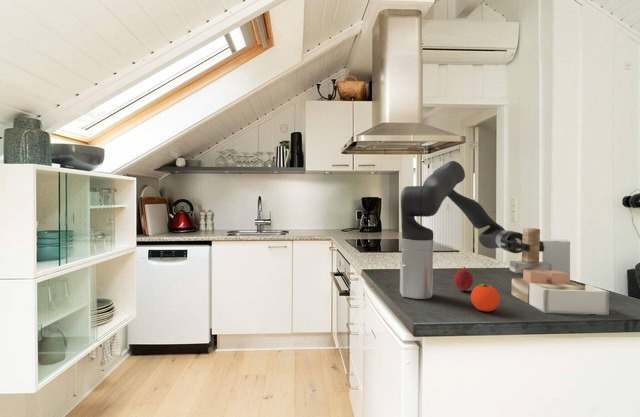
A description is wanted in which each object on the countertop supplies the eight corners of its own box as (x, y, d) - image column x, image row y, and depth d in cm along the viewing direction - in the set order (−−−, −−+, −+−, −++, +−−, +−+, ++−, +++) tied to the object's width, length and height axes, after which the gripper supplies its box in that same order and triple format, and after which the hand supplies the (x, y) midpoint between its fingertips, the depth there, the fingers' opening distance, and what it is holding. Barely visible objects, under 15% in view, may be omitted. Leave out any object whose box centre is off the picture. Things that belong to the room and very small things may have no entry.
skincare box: (569, 283, 126) (570, 239, 126) (570, 286, 121) (571, 241, 120) (541, 280, 131) (542, 238, 130) (541, 283, 125) (542, 239, 125)
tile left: (530, 282, 104) (530, 272, 104) (523, 279, 108) (523, 269, 108) (546, 283, 103) (546, 273, 103) (538, 279, 108) (538, 270, 108)
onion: (474, 294, 109) (475, 268, 109) (455, 292, 111) (455, 267, 110) (470, 289, 115) (471, 265, 115) (452, 288, 116) (452, 264, 116)
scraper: (515, 272, 113) (516, 229, 112) (509, 270, 117) (510, 227, 116) (551, 273, 112) (552, 229, 111) (544, 270, 116) (545, 228, 115)
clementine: (463, 306, 97) (464, 280, 97) (487, 305, 97) (488, 280, 97) (478, 315, 89) (479, 287, 89) (505, 315, 89) (505, 287, 89)
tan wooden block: (527, 303, 100) (528, 286, 100) (511, 294, 110) (511, 278, 110) (587, 305, 98) (587, 287, 98) (565, 295, 108) (565, 279, 108)
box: (544, 312, 91) (545, 289, 91) (529, 303, 99) (529, 282, 99) (608, 315, 90) (609, 291, 90) (587, 305, 98) (588, 284, 98)
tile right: (551, 283, 103) (552, 273, 103) (543, 280, 108) (543, 270, 108) (568, 283, 103) (568, 273, 103) (558, 280, 107) (559, 270, 107)
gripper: (490, 230, 129) (512, 236, 111) (531, 231, 127) (559, 236, 110) (490, 251, 129) (511, 259, 112) (530, 251, 128) (558, 260, 111)
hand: (535, 248), depth 111 cm, fingers closed on scraper, 3 cm apart
